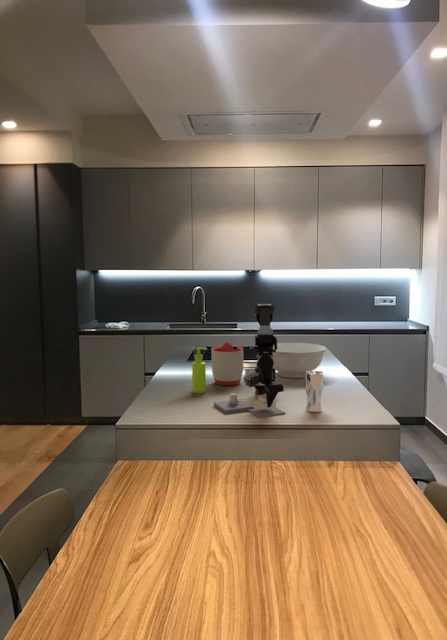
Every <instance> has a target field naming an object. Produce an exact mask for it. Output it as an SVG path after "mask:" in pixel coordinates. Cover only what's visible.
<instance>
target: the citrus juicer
mask: <svg viewBox="0 0 447 640" xmlns="http://www.w3.org/2000/svg"><path fill="white" fill-rule="evenodd" d="M210 350H211V372H212V376H213V379H214V382H215V384H216V385H220V386H231V387H232V386H234V385H239V384H240V382H241V380H242V376H243V372H244V347H243V346H237V347H236V349H235V347H233V345H232V344H231V343H230V342H228V341H226V342H225V343H224V344H223V345H216V346H213V347H211V348H210Z"/></svg>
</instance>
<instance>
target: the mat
mask: <svg viewBox="0 0 447 640" xmlns="http://www.w3.org/2000/svg"><path fill="white" fill-rule="evenodd" d="M247 412H249V413H250V414H252V415H254V416H255V417H258V418H259V419H260V418H267V417H274V416H280V415H286V412H285V411H283V410H282V409H279V408H277V407H276V406H275V407H272V408H265V409H262V408H260V407H258V406H254V409H248V411H247Z"/></svg>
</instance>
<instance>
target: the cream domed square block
mask: <svg viewBox="0 0 447 640" xmlns="http://www.w3.org/2000/svg"><path fill="white" fill-rule="evenodd" d="M255 407H260V408H262V409H265V408H268V406H267V399H266V394H260V395H258V394H257V399H256V400H255ZM272 407H276V401H275V400H274V401H273V403H272V405H271V407H269V408H272Z"/></svg>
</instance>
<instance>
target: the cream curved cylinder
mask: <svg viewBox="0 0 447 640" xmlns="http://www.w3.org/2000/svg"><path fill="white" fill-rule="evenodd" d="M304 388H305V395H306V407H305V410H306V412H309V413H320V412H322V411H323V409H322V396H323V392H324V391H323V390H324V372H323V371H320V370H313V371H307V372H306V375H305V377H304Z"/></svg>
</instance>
